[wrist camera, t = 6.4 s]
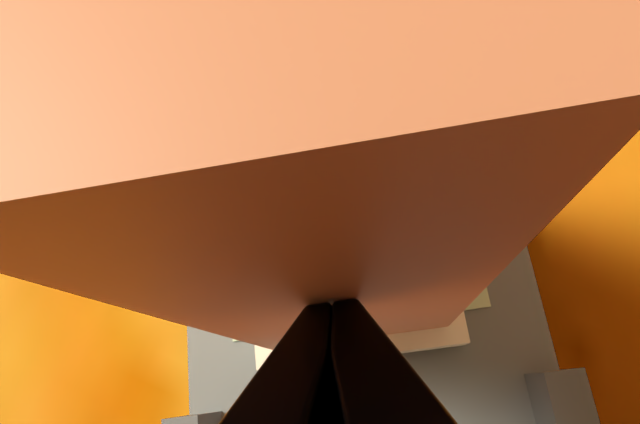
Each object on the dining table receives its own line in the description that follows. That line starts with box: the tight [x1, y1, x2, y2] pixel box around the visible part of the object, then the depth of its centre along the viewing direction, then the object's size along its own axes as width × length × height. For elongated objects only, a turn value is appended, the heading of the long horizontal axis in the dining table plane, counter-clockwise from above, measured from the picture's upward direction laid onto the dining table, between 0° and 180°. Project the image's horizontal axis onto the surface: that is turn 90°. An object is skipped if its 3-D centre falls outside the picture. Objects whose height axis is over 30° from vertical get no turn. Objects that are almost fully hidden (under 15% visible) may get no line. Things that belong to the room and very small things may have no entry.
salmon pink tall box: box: [0, 0, 640, 370], centre depth 10 cm, size 6×6×13 cm
